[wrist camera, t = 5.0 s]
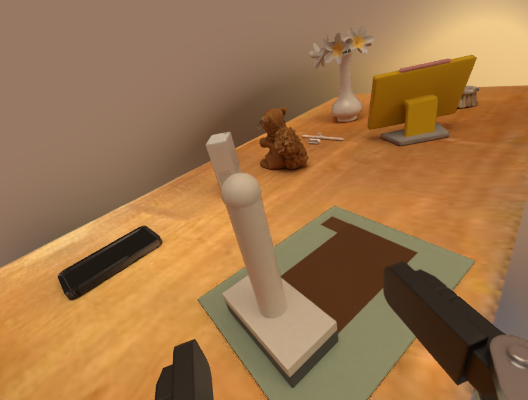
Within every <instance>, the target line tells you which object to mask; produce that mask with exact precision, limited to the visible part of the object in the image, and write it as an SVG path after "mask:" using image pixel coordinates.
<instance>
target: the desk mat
mask: <svg viewBox="0 0 528 400" xmlns="http://www.w3.org/2000/svg"><path fill="white" fill-rule="evenodd" d="M274 252H275V256H276V260H277V264H278V268H279V272H280V277H281V278H282V279H283V280H285V281H286V282H287V283H288V284H290V285H291V286H292V287H293V288H295V289H296V290H297V291H298V292H300V293H301V294H302V295H303V296H305V297H306V298H307V299H309V300H310V301H311V302H312V303H314V304H315V305H316V306H317V307H319V308H320V309H321V310H322V311H324V312H325V313H326V314H327V315H329V316H330V317H331V318H332V319H334V320H335V321H336V322H337V331H338V342H337V343H336V344H335V345H334V346H333V347H332V348H331V349H330V350H329V352H328V353H327V354H326V355H325V356H324V357H323V358H322V359H321V360H320V361H319V362H318V363H317V364H316V365H315V366H314V367H313V368H312V369H311V370H310V371H309V372H308V373H307V374H306V375H305V376H304V377H303V379H302V380H301V381H300V382H299V383H298V384H297V385H296V386H295V387H294V388H292V387H291V386H290V385H289V383H288V382H287V381H286V380H285V378H284V377H283V376H282V375H281V374H280V372H279V371H278V370H277V369H276V368H275V366H274V365H273V364H272V363H271V361H270V360H269V359H268V358H267V357H266V355H265V354H264V353H263V352H262V350H261V349H260V348H259V347H258V346H257V344H256V343H255V342H254V341H253V340H252V338H251V337H250V336H249V335H248V333H247V332H246V331H245V330H244V329H243V327H242V326H241V325H240V324H239V323H238V321H237V320H236V319H235V318H234V316H233V315H232V314H231V313H230V312H229V310H228V307H227V305H226V303H225V300H224V298H223V295H222V293H224V292H225V291H226V290H228V289H229V288H231V287H232V286H233V285H235V284H236V283H238V282H239V281H240V280H242V279H243V278H245V277H246V276H248V272H247V269H246V267H244V268H243V269H241V270H240V271H238V272H237V273H235V274H234V275H233V276H231V277H230V278H228V279H227V280H225V281H224V282H222V283H221V284H219V285H218V286H216V287H215V288H214V289H212V290H211V291H209V292H208V293H206V294H205V295H203V296H202V297H200V298H199V299H198V301H199V302H200V304H201V305H202V306H203V308H204V309H205V311H206V312H207V313H208V315H209V316H210V318H211V319H212V320H213V322H214V323H215V325H216V326H217V328H218V329H219V330H220V332H221V333H222V335H223V336H224V337H225V339H226V340H227V342H228V343H229V344H230V346H231V347H232V349H233V350H234V351H235V353H236V354H237V356H238V357H239V358H240V360H241V361H242V363H243V364H244V365H245V367H246V368H247V370H248V371H249V372H250V374H251V375H252V377H253V378H254V379H255V381H256V382H257V384H258V385H259V386H260V388H261V389H262V391H263V392H264V393H265V395H266V396H267V398H268V399H269V400H368V399H369V397H370V396H371V395H372V393H373V392H374V391H375V390H376V388H377V387H378V386H379V384H380V383H381V382H382V381H383V379H384V378H385V377H386V375H387V374H388V373H389V372H390V370H391V369H392V368H393V366H394V365H395V364H396V363H397V361H398V360H399V359H400V357H401V356H402V355H403V354H404V352H405V351H406V350H407V348H408V347H409V346H410V345H411V343H412V342H413V341H414V340H415V338H416V336H415V335H414V334H413V333H412V332H411V331H410V329H409V328H408V327H407V326H406V325H405V324H404V322H403V321H402V320H401V319H400V318H399V317H398V315H397V314H396V313H395V312H394V311H393V310H392V308H391V307H390V306H389V305H388V303H387V301H386V299H385V297H384V293H383V282H384V268H385V267H387V266H390V265H393V264H395V263H398V262H401V261H403V262H405V263H407V264H408V265H409V266H410V267H411V268H412V269H414V270H415V271H417V270H419V269H421V270H423V271H425V272H427V273H429V274H431V275H434V276H435V277H436V278H438V279H439V280H440V281H441V282H442V283H444V284H445V285H446V286H447V288H450V289H451V290H452V291H453V289H454V288H455V287H456V286H457V284H458V283H459V282H460V280H461V279H462V278H463V277H464V275H465V274H466V273H467V271H468V270H469V269H470V268H471V266H472V265H473V264H474V262H475V260H473V259H470V258H468V257H465V256H462V255H460V254H457V253H455V252H452V251H450V250H447V249H444V248H442V247H439V246H437V245H434V244H432V243H429V242H427V241H424V240H421V239H419V238H416V237H414V236H411V235H409V234H406V233H403V232H401V231H398V230H396V229H393V228H391V227H388V226H385V225H383V224H380V223H378V222H375V221H373V220H370V219H368V218H365V217H362V216H360V215H357V214H355V213H352V212H350V211H347V210H344V209H342V208H339V207H337V206H333V207H332V208H330V209H329V210H327V211H326V212H324V213H323V214H322V215H320V216H319V217H317V218H316V219H314V220H313V221H311V222H310V223H308V224H307V225H305V226H304V227H303V228H301V229H300V230H298V231H297V232H295V233H294V234H292V235H291V236H289V237H288V238H287V239H285V240H284V241H282V242H281V243H279V244H278V245H276V246H275V247H274Z"/></svg>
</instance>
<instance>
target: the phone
mask: <svg viewBox="0 0 528 400" xmlns="http://www.w3.org/2000/svg"><path fill="white" fill-rule="evenodd" d="M161 243H162V240H161V238H160V236H159V235H158V234H156V233H155V232H154V231H152V230H151V229H150V228H148V227H147V226H141V227H139V228H137V229H135V230H133V231H131V232H130V233H128V234H126V235H124V236H123V237H121V238H119V239H117V240H116V241H114V242H112V243H110V244H109V245H107V246H105V247H103V248H102V249H100V250H98V251H96V252H95V253H93V254H91V255H89V256H88V257H86V258H84V259H82V260H80V261H79V262H77V263H75V264H73V265H72V266H70V267H68V268H66V269H65V270H63V271H62V272H60V273H59V275H58V279H59V281H60V284H61V286H62V289H63V291H64V294H65V295H66V296H67V297H68V298H69V299H70V300H72V299H76V298H78V297H80V296H81V295H83V294H84V293H86V292H87V291H89V290H91V289H92V288H94V287H95V286H97V285H98V284H100V283H102V282H103V281H105V280H106V279H108V278H109V277H111V276H113V275H114V274H116V273H117V272H119V271H120V270H122V269H124V268H125V267H127V266H128V265H130V264H131V263H133V262H135V261H136V260H138V259H139V258H141V257H142V256H144V255H145V254H147V253H149V252H150V251H152V250H153V249H155V248H156V247H158V246H159V245H160V244H161Z"/></svg>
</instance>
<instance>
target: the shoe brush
mask: <svg viewBox="0 0 528 400" xmlns="http://www.w3.org/2000/svg"><path fill="white" fill-rule="evenodd" d="M477 91H479V88H477V87H474V86H465V89H464V92H463V94H462V97H461V99H460V102H459V104H458V107H459V108H462V107H466V106H468V107H470V106H475V105H477V97H476V92H477Z"/></svg>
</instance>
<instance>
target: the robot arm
mask: <svg viewBox="0 0 528 400" xmlns="http://www.w3.org/2000/svg"><path fill="white" fill-rule="evenodd" d="M383 293H384V297H385V299H386V301H387V303H388V305H389V306H390V307H391V308H392V310H393V311H394V312H395V313H396V314H397V315H398V317H399V318H400V319H401V320H402V321H403V322H404V324H405V325H406V326H407V327H408V328H409V329H410V331H411V332H412V333H413V334H414V335H415V336H416V338H417V339H418V340H419V341H420V342H421V343H422V345H423V346H424V347H425V348H426V349H427V350H428V352H429V353H430V354H431V355H432V356H433V357H434V359H435V360H436V361H437V362H438V363H439V364H440V366H441V367H442V368H443V369H444V370H445V371H446V373H447V374H448V375H449V376H450V377H451V378H452V380H453V381H454V382H455V383H456V384H457V385H459V384H461V383H464V382H466V381H469V383H470V384H471V385H472V386H473V387H474V393H475V398H476V400H528V341H527V340H525V339H523V338H520V337H517V336H513V335H506V334H505V333H503V332H501V331H500V330H499V329H497V328H496V327H495V326H494V325H493V324H491V323H490V322H489V321H488V320H487V319H485V318H484V317H483V316H482V315H481V314H479V313H478V312H477V311H476V310H475V309H473V308H472V307H471V306H470V305H469V304H467V303H466V302H465V301H464V300H463V299H462V298H460V297H458V296H457V295H456V293H454V292H453V291H452V290H451V289H450V288H447V286H446V285H445V284H444V283H442V282H441V281H440V280H439V279H438V278H436V277H435V276H434V275H431V274H429V273H427V272H425V271H423V270H421V269H419V270H417V271H415V270H414V269H412V268H411V267H410V266H409V265H408V264H407V263H405V262H403V261H401V262H398V263H395V264H393V265H390V266H387V267H385V268H384V282H383ZM155 400H213V388H212V377H211V371H210V367H209V364H208V361H207V359H206V357H205V355H204V354H203V352H202V350H201V348H200V347H199V345H198V343H197V341H196V340H195V339H193V340H191V341H188V342H185V343H183V344H180V345H177V346H175V347H174V351H173V364H172V365H170V366H167V367H165V368H163V370H162V372H161V375H160V377H159V379H158V382H157V384H156V392H155Z"/></svg>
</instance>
